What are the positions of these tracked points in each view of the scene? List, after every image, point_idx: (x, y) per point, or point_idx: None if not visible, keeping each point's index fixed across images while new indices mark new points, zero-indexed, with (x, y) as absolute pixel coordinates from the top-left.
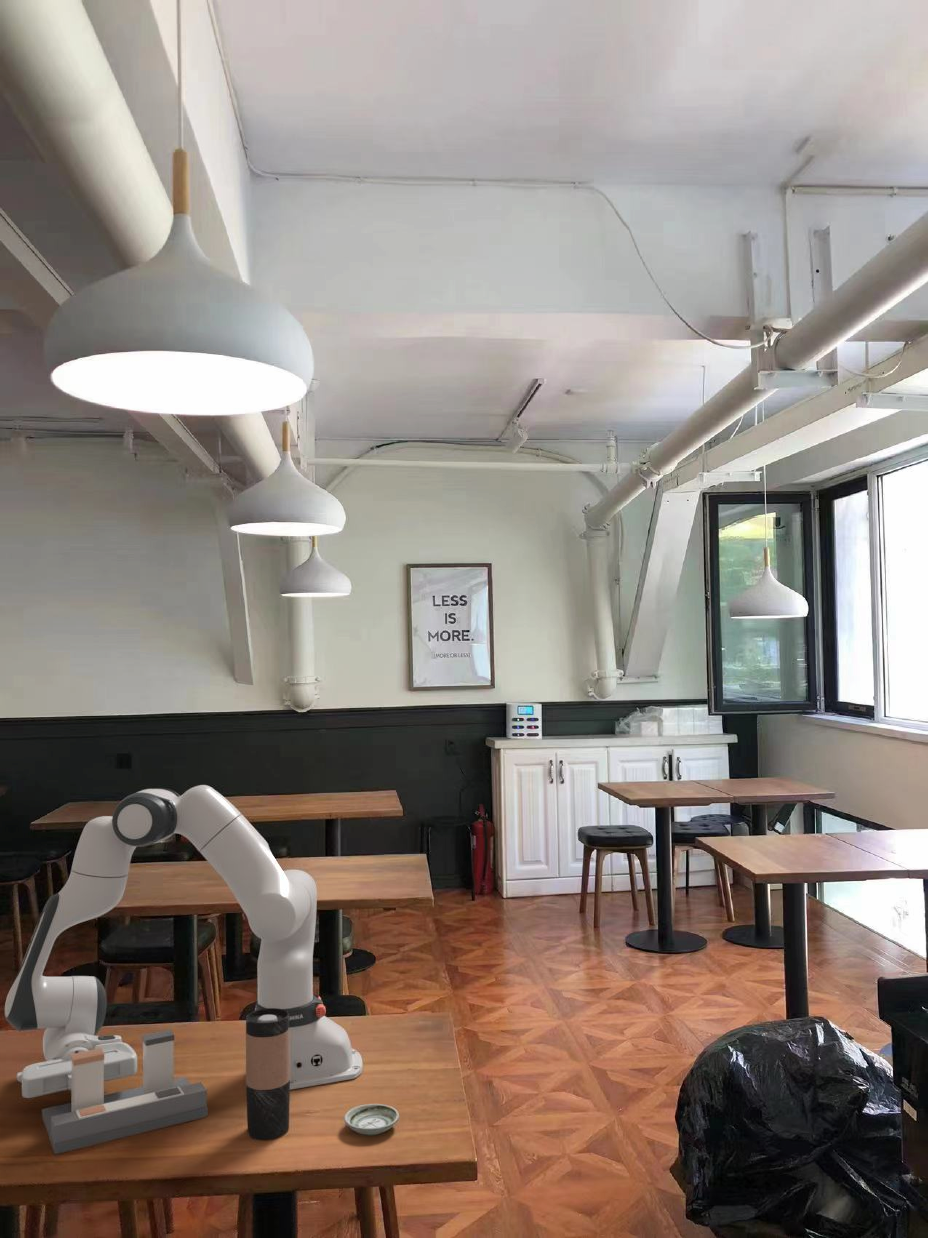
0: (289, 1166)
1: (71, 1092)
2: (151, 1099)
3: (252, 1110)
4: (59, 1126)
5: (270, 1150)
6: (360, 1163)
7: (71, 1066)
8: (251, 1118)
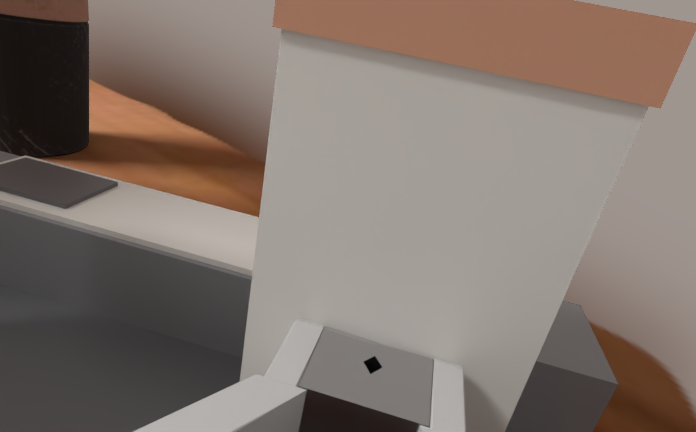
0: (158, 115)
1: (506, 421)
2: (140, 194)
3: (86, 79)
4: None
5: (121, 130)
6: (102, 87)
7: (611, 183)
8: (85, 101)
